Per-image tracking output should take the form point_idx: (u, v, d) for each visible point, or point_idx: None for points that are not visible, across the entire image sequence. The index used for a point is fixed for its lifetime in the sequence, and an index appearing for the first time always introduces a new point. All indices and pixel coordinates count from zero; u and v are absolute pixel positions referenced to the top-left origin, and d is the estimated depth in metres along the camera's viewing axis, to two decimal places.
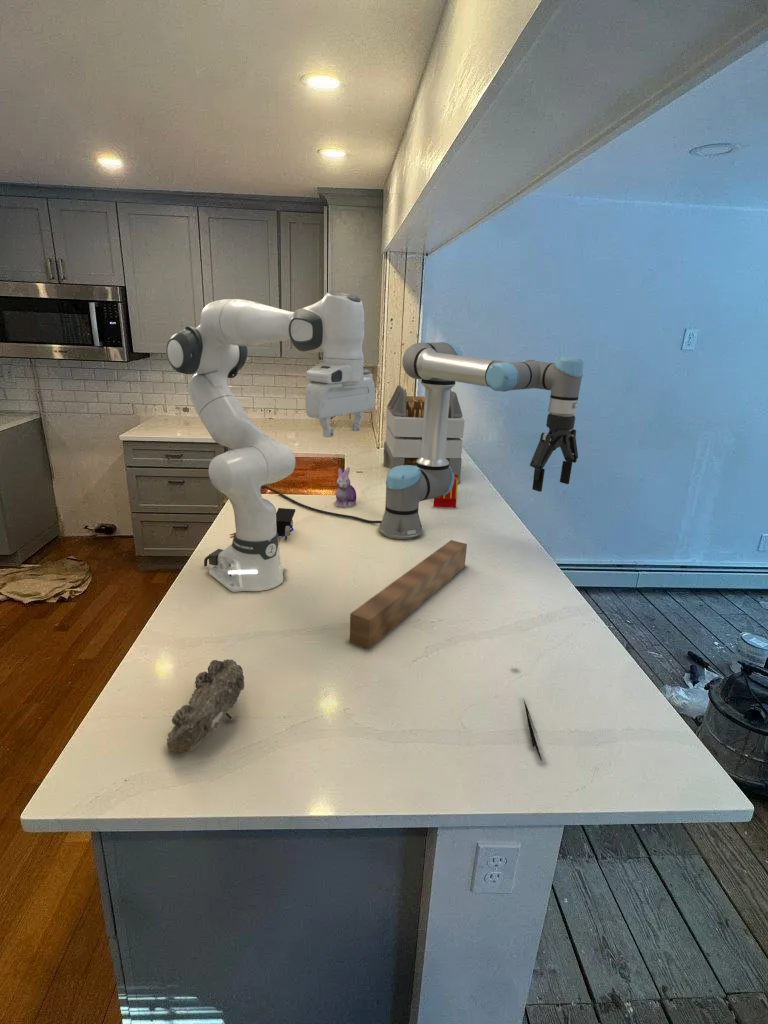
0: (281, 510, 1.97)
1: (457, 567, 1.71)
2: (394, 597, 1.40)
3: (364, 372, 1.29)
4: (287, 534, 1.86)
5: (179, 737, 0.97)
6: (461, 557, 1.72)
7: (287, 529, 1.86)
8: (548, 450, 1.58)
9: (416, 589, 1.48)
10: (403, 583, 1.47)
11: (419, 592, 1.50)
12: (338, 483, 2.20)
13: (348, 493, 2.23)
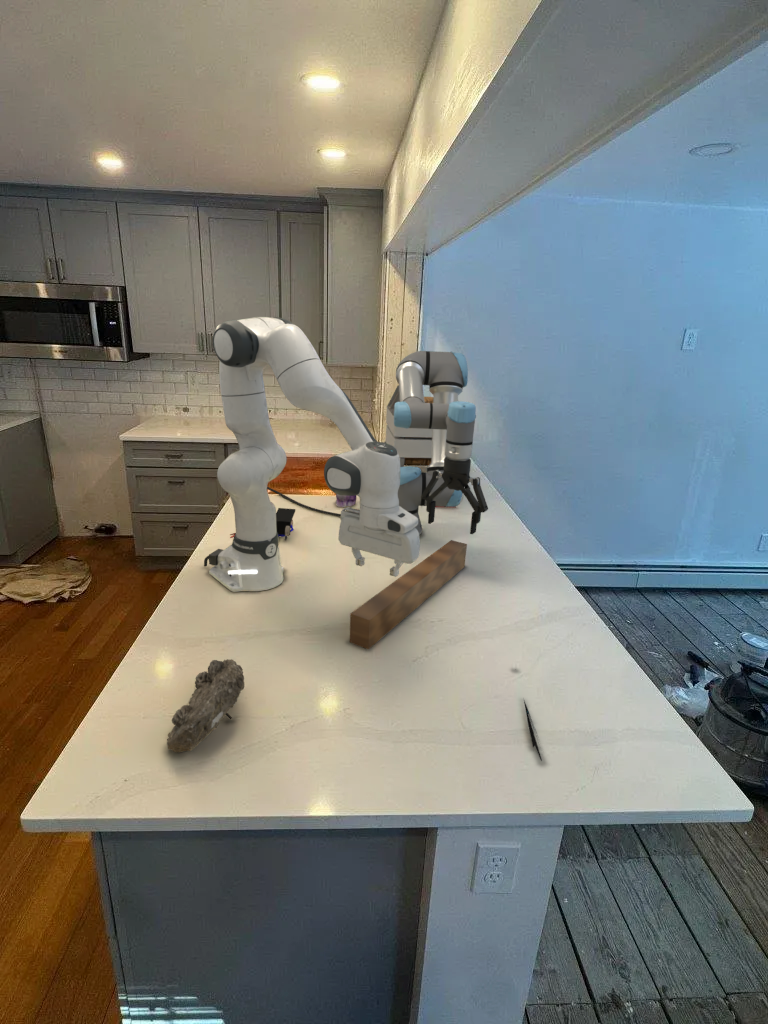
0: (281, 510, 1.97)
1: (457, 567, 1.71)
2: (394, 597, 1.40)
3: None
4: (287, 534, 1.86)
5: (179, 737, 0.97)
6: (461, 557, 1.72)
7: (287, 529, 1.86)
8: (438, 487, 1.65)
9: (416, 589, 1.48)
10: (403, 583, 1.47)
11: (419, 592, 1.50)
12: None
13: None
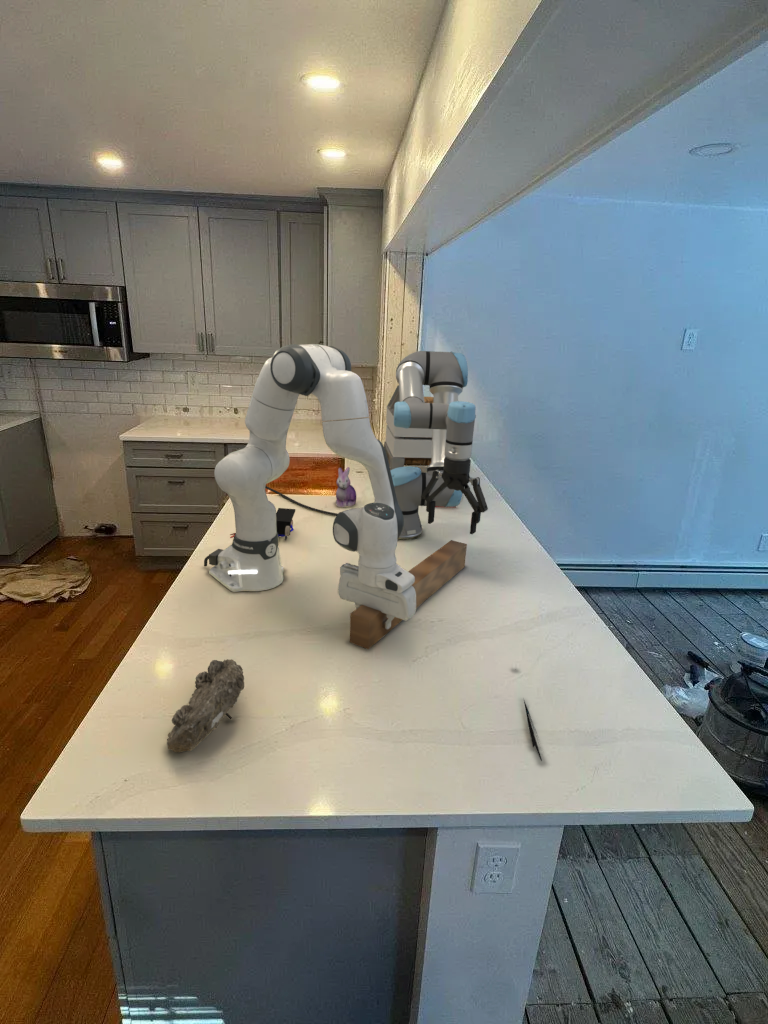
0: (281, 510, 1.97)
1: (457, 567, 1.71)
2: None
3: None
4: (287, 534, 1.86)
5: (179, 737, 0.97)
6: (461, 557, 1.72)
7: (287, 529, 1.86)
8: (438, 487, 1.65)
9: (416, 589, 1.48)
10: None
11: (419, 592, 1.50)
12: (338, 483, 2.20)
13: (348, 493, 2.23)
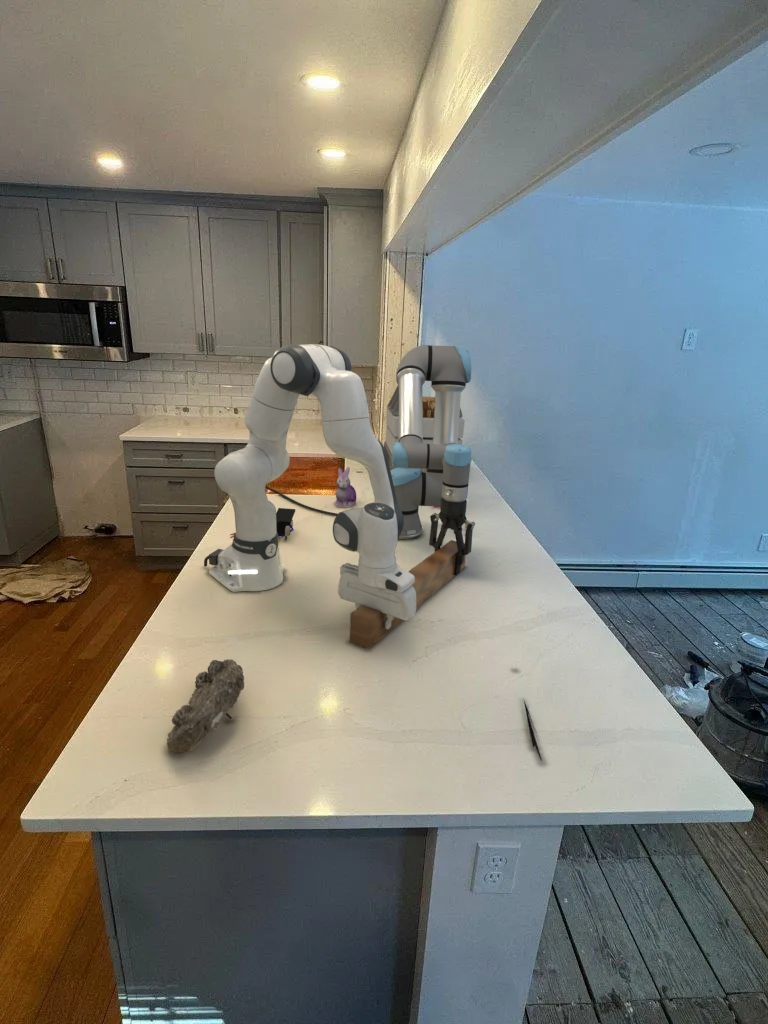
0: (281, 510, 1.97)
1: None
2: None
3: None
4: (287, 534, 1.86)
5: (179, 737, 0.97)
6: None
7: (287, 529, 1.86)
8: None
9: (416, 589, 1.48)
10: None
11: (419, 592, 1.50)
12: (338, 483, 2.20)
13: (348, 493, 2.23)
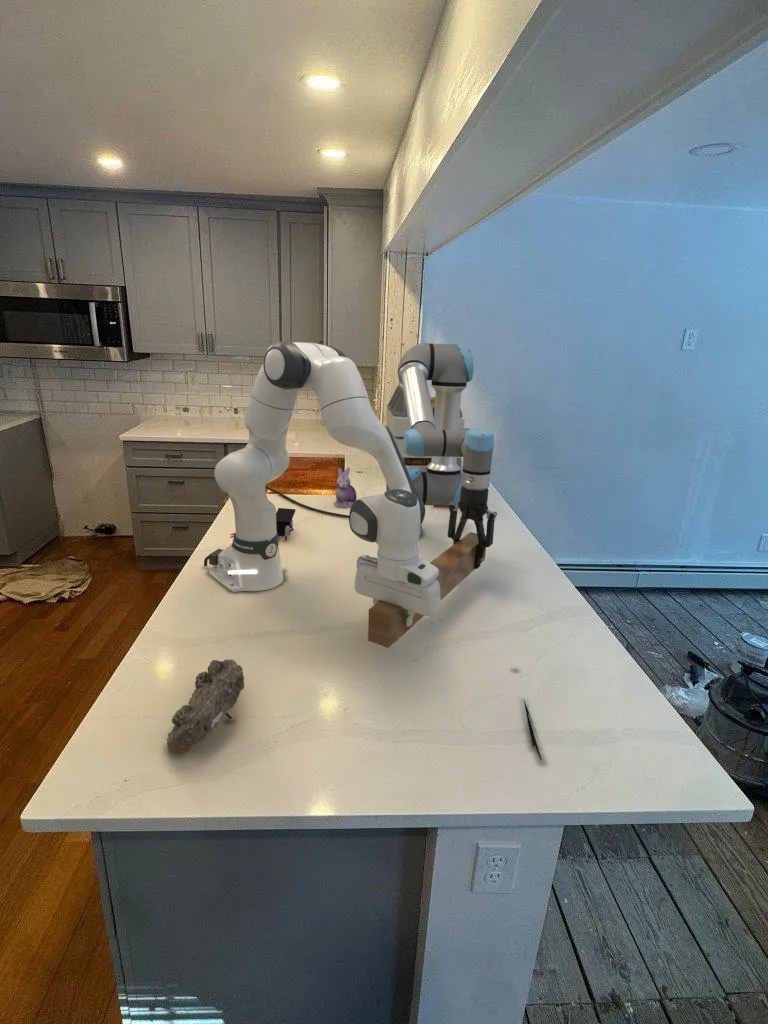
0: (281, 510, 1.97)
1: None
2: None
3: None
4: (287, 534, 1.86)
5: (179, 737, 0.97)
6: None
7: (287, 529, 1.86)
8: None
9: None
10: None
11: None
12: (338, 483, 2.20)
13: (348, 493, 2.23)
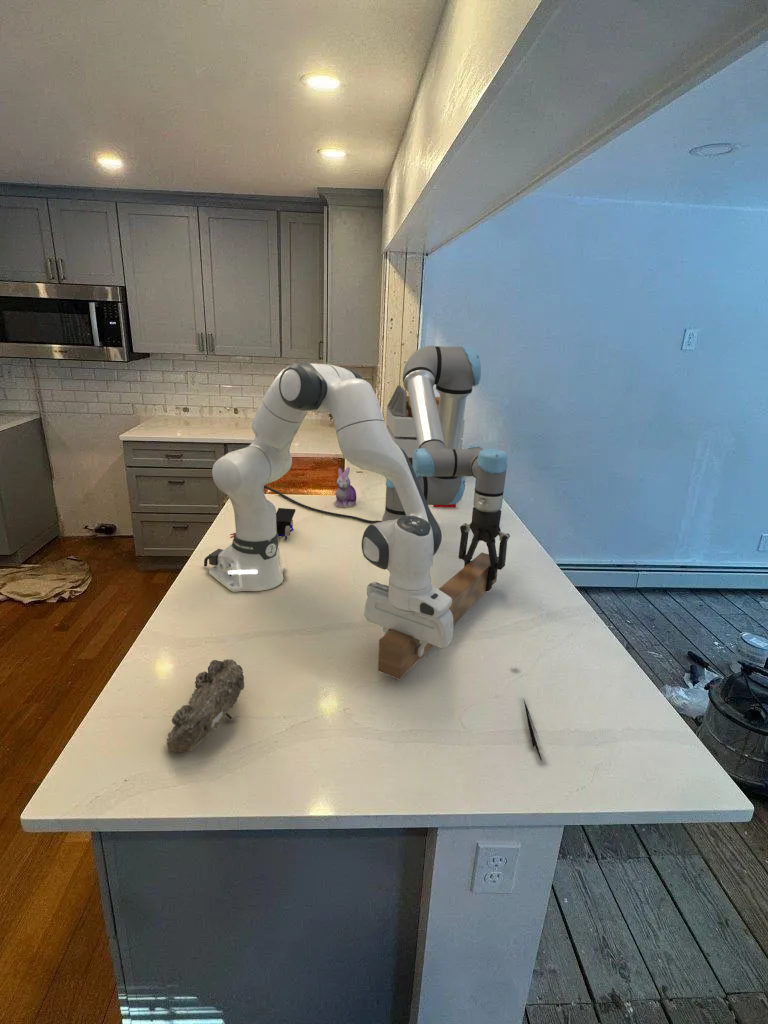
0: (281, 510, 1.97)
1: None
2: None
3: None
4: (287, 534, 1.86)
5: (179, 737, 0.97)
6: None
7: (287, 529, 1.86)
8: None
9: None
10: None
11: None
12: (338, 483, 2.20)
13: (348, 493, 2.23)
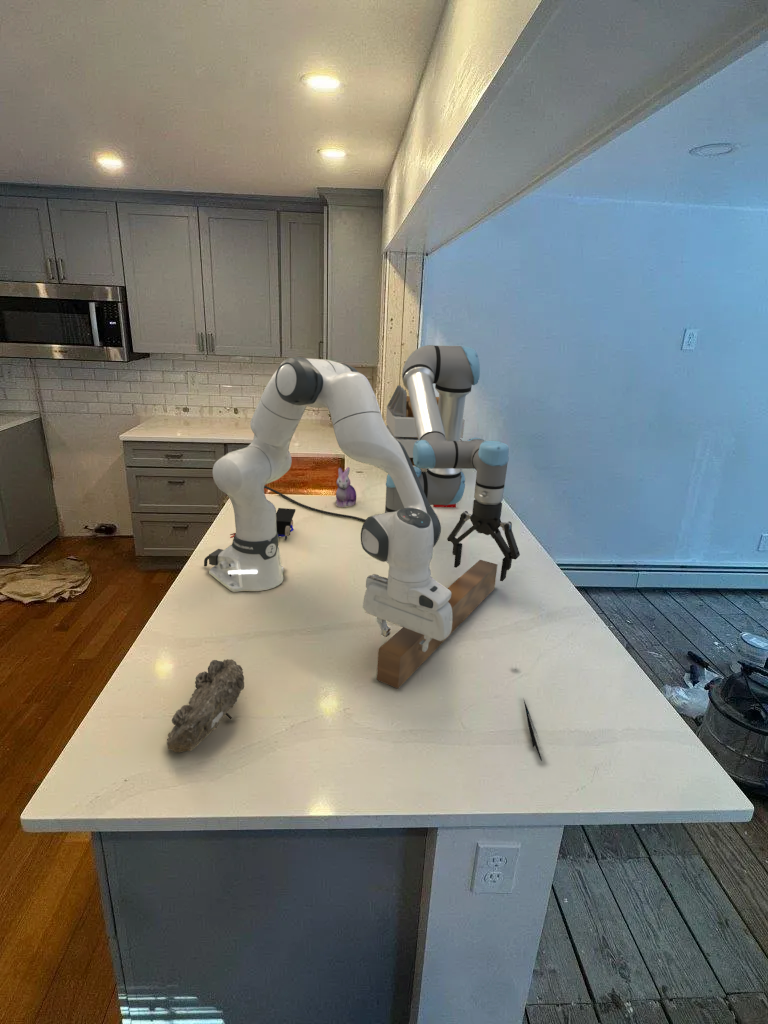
0: (281, 510, 1.97)
1: (487, 590, 1.58)
2: None
3: None
4: (287, 534, 1.86)
5: (179, 737, 0.97)
6: (492, 578, 1.59)
7: (287, 529, 1.86)
8: None
9: None
10: None
11: None
12: (338, 483, 2.20)
13: (348, 493, 2.23)
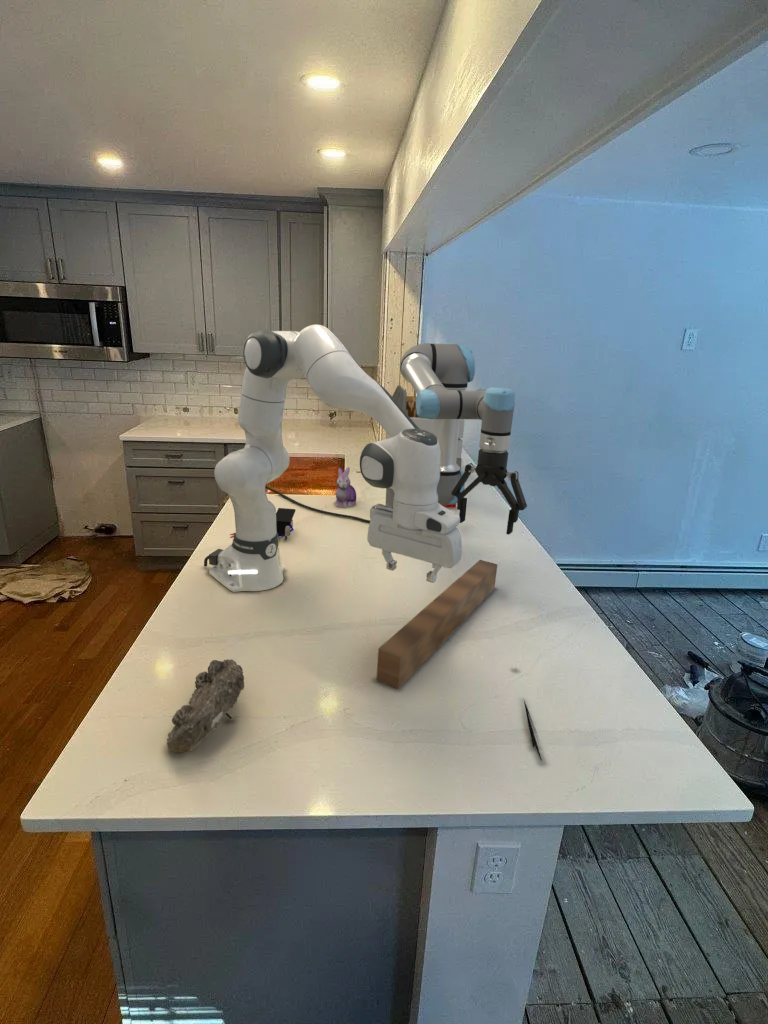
0: (281, 510, 1.97)
1: (487, 590, 1.58)
2: (425, 628, 1.27)
3: None
4: (287, 534, 1.86)
5: (179, 737, 0.97)
6: (492, 578, 1.59)
7: (287, 529, 1.86)
8: (471, 483, 1.50)
9: (447, 617, 1.35)
10: (433, 612, 1.34)
11: (450, 620, 1.37)
12: (338, 483, 2.20)
13: (348, 493, 2.23)
